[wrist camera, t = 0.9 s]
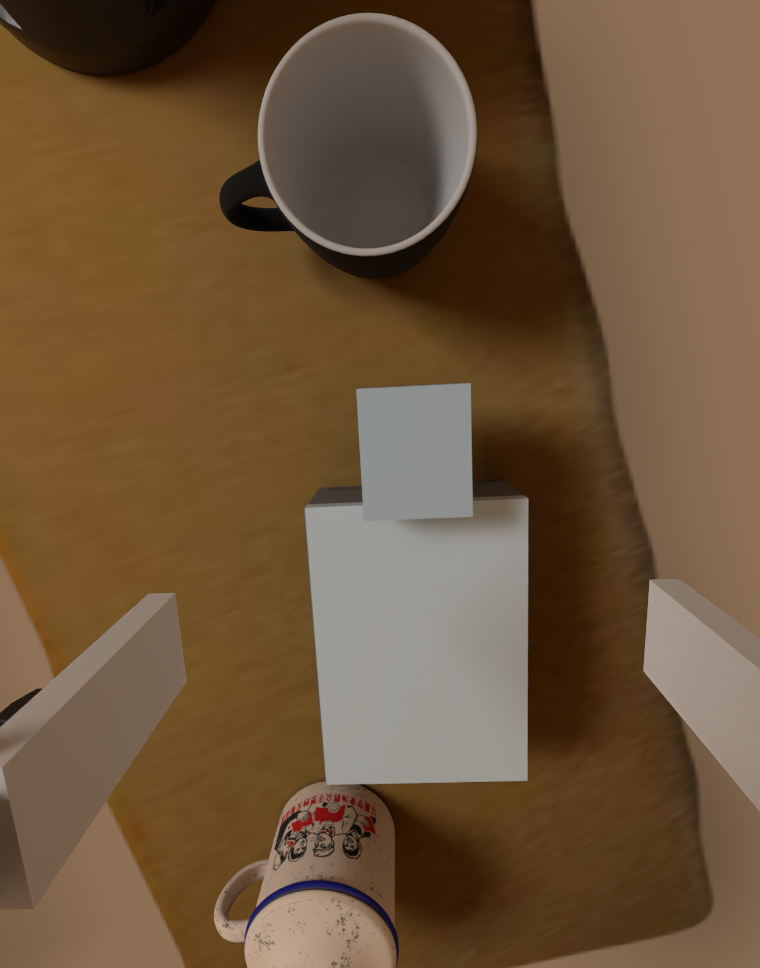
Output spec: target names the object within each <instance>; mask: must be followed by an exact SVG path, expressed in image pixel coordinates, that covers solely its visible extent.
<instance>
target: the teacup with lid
mask: <svg viewBox="0 0 760 968" xmlns="http://www.w3.org/2000/svg"><path fill="white" fill-rule="evenodd" d="M262 879H263V883H262V887H261V891H260V894H259V898H258V902H257V906H256V909H255V910H254V912H253V913H252V915H251V917H250V919H244V920H232V919H229V918H228V913H229V911H230V908H231V906H232V905H233V903H234V901H235V900H236V898H237V897H238V896H239V895H240V893H241V892H242V891H243V890H244V889H245V888H247V887H248V886H249V885H251V884H252V883H254V882H256V881H259V880H262ZM214 920H215V925H216V928H217V930H218V932H219V934H220V935H221V936H222V937H223V938H224V939H226V940H228V941H231V942H244V947H245V959H246V964H247V967H248V968H395V967H396V965H397V960H398V953H399V944H398V937H397V933H396V930H395V829H394V823H393V819H392V817H391V814H390V812H389V810H388V809H387V807H386V806H385V804H384V803H383V802H382V800H381V799H380V798H379V797H378V796H376V795H375V794H374V793H373V792H371V791H370V790H368V789H366V788H365V787H362V786H360V785H358V784H343V785H326V781H322V782H318V783H314V784H311V785H309V786H307V787H305V788H303V789H302V790H300V791H299V792H297V793H296V794H295V795H294V796H293V797H292V798H291V799H290V800H289V801H288V803H287V804H286V805H285V807H284V809H283V811H282V814H281V816H280V820H279V823H278V827H277V831H276V834H275V838H274V842H273V846H272V849H271V853H270V857H269V859H264V860H260V861H256V862H254V863H251V864H249V865H247V866H246V867H244V868H242V869H241V870H240V871H239V872H237V873H236V874H235V875H234V876H233V877H232V878H231V879H230V881H229V882H228V883H227V884H226V886H225V887H224V889H223V890H222V892H221V894H220V896H219V898H218V900H217V903H216V906H215V911H214Z"/></svg>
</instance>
